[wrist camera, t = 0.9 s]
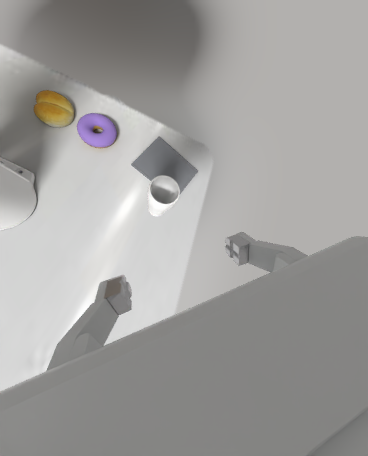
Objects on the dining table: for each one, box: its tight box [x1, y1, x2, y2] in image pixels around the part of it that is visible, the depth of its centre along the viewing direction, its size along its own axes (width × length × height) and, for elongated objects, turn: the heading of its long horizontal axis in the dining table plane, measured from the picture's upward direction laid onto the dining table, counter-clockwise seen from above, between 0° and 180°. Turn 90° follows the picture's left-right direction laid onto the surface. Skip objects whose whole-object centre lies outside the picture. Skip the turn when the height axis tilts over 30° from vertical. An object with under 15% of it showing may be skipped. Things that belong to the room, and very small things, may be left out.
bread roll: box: [34, 90, 74, 127], centre depth 37 cm, size 8×9×4 cm
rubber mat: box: [131, 137, 198, 194], centre depth 46 cm, size 17×14×1 cm
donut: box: [77, 113, 117, 148], centre depth 40 cm, size 10×9×5 cm
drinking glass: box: [147, 175, 180, 216], centre depth 37 cm, size 7×7×15 cm
